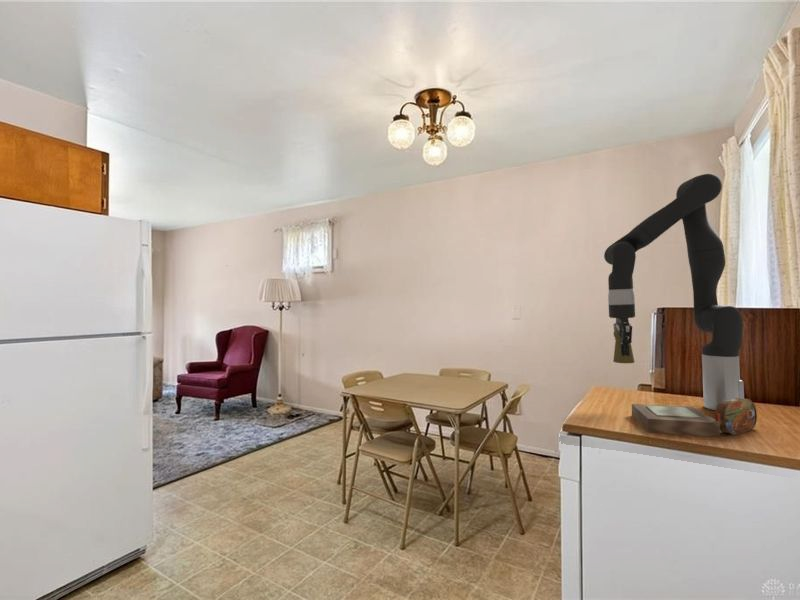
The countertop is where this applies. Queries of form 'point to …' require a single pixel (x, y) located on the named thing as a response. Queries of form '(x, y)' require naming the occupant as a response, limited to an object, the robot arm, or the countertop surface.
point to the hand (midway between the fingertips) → (623, 355)
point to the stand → (675, 420)
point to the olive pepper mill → (618, 354)
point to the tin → (736, 415)
